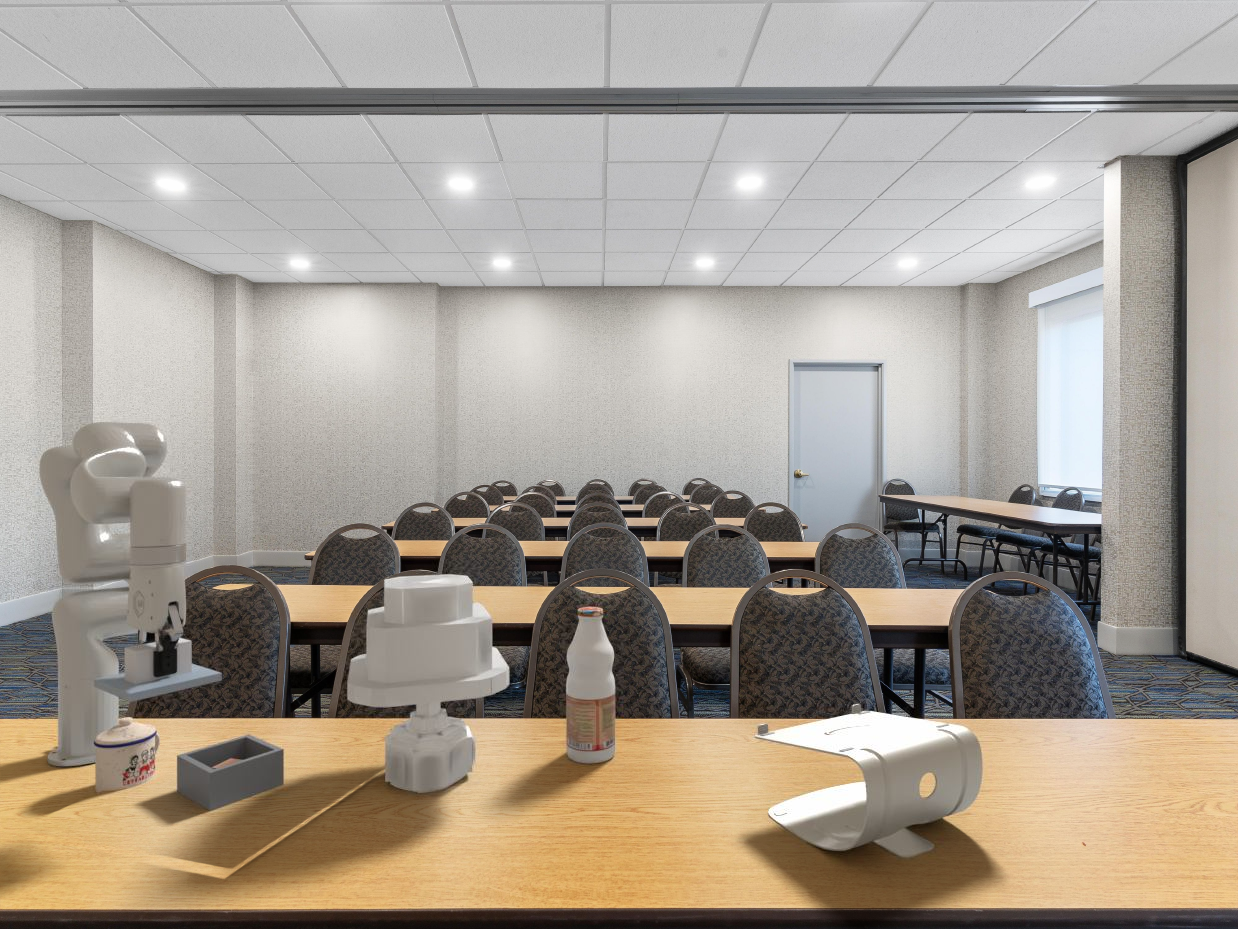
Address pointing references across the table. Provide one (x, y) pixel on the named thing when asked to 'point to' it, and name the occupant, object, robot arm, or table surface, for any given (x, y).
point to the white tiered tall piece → (427, 675)
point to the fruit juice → (590, 691)
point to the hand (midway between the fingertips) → (158, 671)
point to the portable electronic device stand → (881, 780)
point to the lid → (142, 681)
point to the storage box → (229, 771)
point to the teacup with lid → (125, 755)
